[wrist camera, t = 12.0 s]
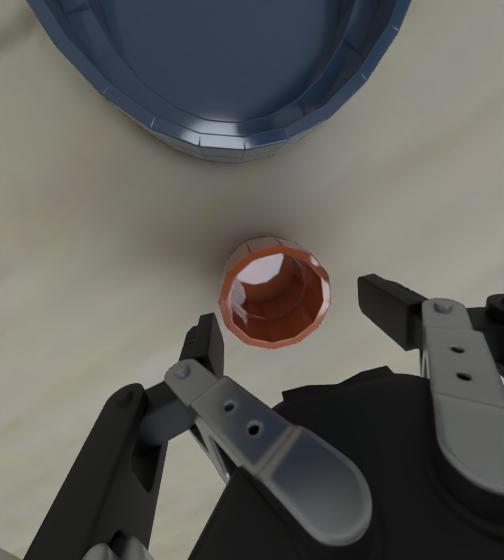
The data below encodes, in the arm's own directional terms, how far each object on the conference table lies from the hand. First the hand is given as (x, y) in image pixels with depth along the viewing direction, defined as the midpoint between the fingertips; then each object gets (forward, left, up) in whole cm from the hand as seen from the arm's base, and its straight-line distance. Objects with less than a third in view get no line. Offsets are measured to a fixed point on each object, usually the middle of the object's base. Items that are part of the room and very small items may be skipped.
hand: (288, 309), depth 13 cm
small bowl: (0, 0, -6) cm, 6 cm away
